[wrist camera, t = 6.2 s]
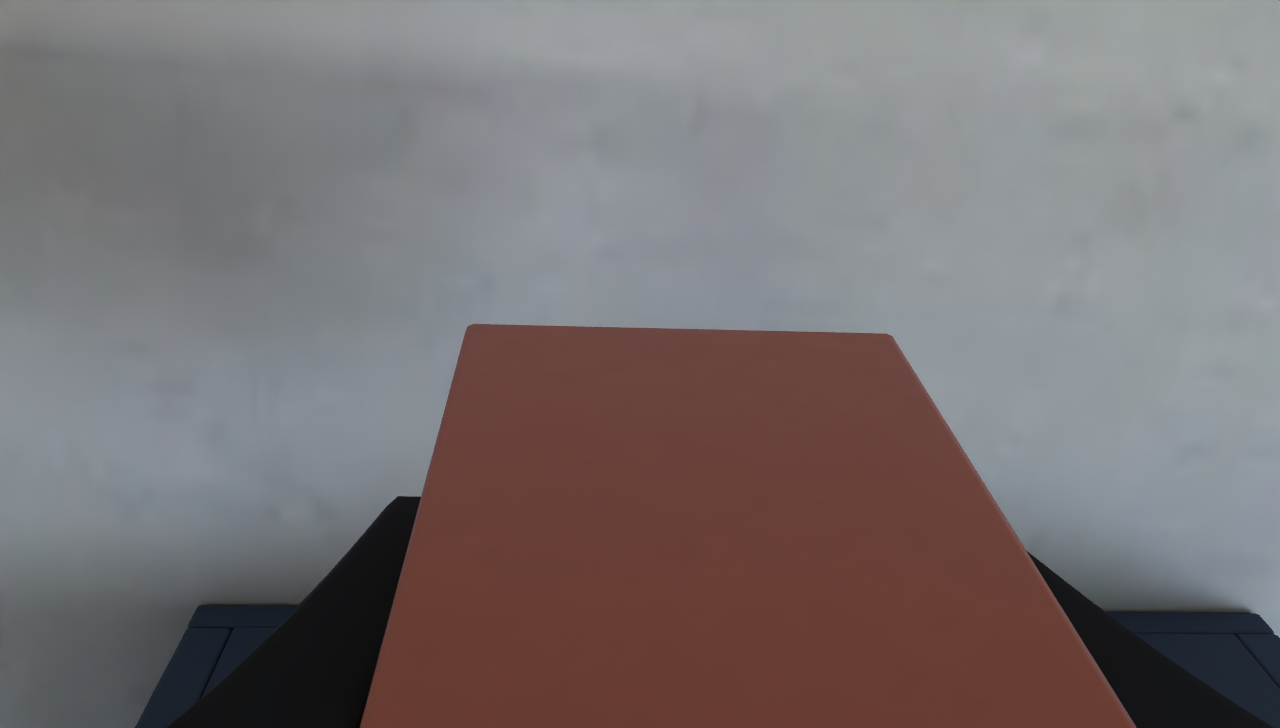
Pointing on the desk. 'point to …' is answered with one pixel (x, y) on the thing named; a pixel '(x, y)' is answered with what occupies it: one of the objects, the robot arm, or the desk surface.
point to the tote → (1198, 642)
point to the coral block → (715, 548)
